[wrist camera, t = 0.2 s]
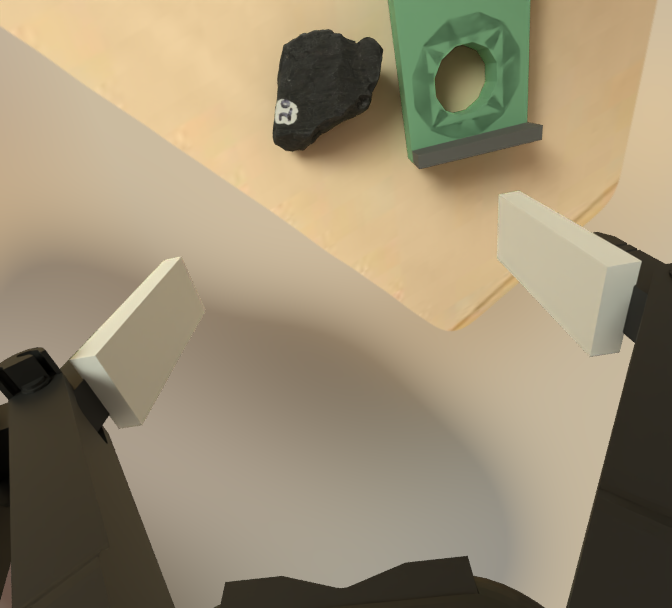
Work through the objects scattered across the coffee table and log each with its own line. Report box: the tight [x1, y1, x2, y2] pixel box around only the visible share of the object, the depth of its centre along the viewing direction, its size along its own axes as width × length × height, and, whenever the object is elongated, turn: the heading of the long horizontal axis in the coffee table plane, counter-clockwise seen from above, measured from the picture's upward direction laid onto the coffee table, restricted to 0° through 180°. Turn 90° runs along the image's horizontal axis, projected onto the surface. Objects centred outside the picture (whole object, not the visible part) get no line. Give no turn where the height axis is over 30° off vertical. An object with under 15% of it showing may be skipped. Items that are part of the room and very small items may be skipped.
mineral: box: [273, 29, 383, 151], centre depth 34 cm, size 10×9×6 cm
